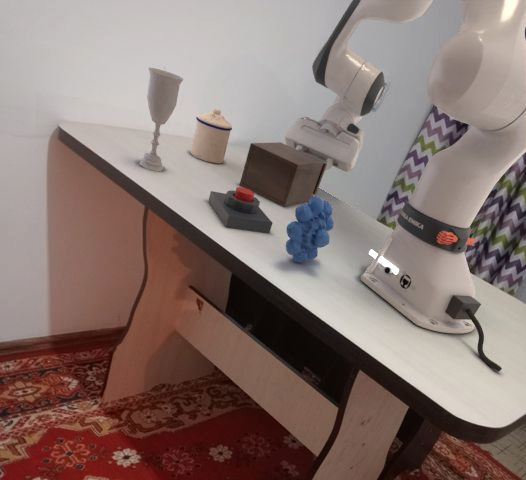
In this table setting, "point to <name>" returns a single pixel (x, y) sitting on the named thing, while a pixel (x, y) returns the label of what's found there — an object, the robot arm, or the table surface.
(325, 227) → the grapes
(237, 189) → the button
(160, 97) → the chalice
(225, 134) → the lidded canister
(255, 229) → the control block
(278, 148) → the cabinet
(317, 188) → the drawer
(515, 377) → the table surface
